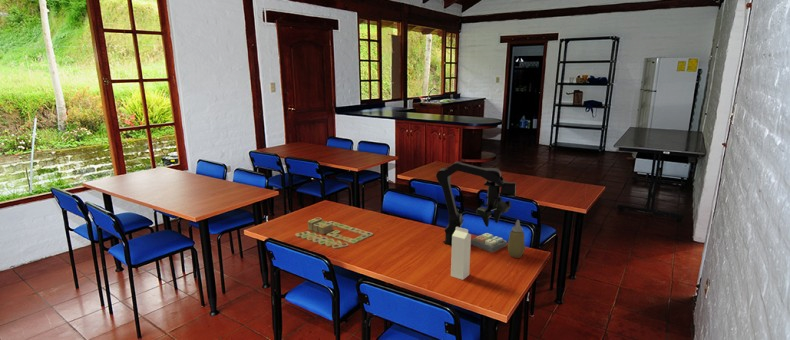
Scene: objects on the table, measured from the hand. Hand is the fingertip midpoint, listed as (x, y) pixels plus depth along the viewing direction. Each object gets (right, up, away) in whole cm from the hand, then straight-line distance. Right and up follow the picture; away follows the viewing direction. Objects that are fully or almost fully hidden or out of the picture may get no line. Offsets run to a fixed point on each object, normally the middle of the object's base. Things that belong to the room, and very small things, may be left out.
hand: (491, 224), depth 209 cm
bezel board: (0, -11, +7) cm, 13 cm away
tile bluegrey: (+4, -9, +6) cm, 11 cm away
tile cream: (0, -10, +2) cm, 10 cm away
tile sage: (0, -8, +10) cm, 13 cm away
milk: (-20, -19, -25) cm, 37 cm away
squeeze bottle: (+10, -14, -5) cm, 18 cm away
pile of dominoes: (-81, -9, +20) cm, 84 cm away
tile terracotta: (-4, -9, +7) cm, 12 cm away
